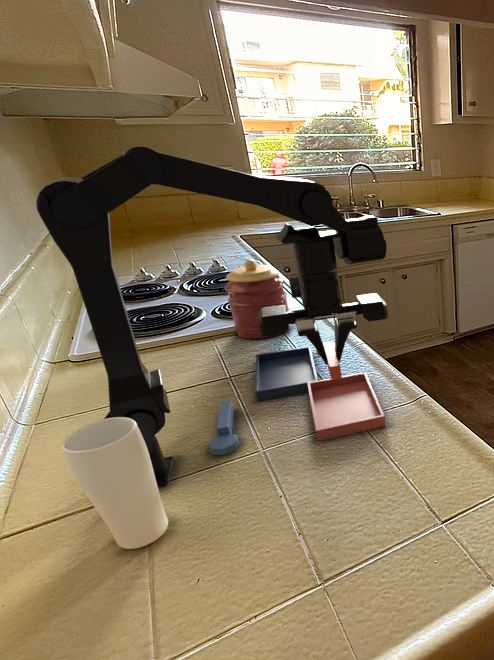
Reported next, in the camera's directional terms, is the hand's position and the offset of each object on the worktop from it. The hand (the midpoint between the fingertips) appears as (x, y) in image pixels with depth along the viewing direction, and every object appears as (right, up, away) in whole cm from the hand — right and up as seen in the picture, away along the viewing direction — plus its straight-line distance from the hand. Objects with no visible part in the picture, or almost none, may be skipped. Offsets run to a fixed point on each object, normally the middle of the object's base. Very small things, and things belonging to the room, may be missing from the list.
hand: (332, 362), depth 76 cm
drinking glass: (-17, -21, -19) cm, 33 cm away
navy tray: (-15, -3, +17) cm, 23 cm away
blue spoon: (-17, -12, 0) cm, 21 cm away
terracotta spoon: (-1, 0, +2) cm, 2 cm away
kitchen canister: (-29, +8, +39) cm, 50 cm away
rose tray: (0, -8, +7) cm, 10 cm away
